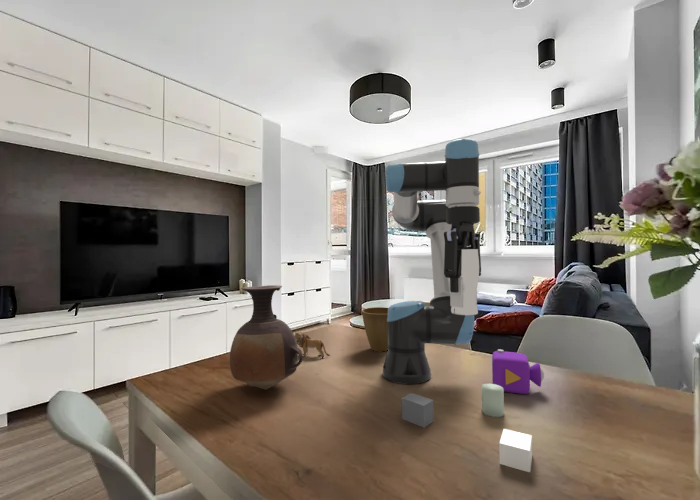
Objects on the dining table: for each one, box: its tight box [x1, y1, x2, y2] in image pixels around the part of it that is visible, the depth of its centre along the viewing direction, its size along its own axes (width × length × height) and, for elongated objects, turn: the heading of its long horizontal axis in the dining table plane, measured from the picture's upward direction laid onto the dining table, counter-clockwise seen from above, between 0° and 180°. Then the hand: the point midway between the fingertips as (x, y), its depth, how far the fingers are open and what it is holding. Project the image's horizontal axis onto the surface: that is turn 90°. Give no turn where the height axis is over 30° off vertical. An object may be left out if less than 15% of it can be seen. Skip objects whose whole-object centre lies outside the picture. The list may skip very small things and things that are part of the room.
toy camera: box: [491, 348, 545, 395], centre depth 98 cm, size 11×14×10 cm
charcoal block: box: [401, 392, 435, 428], centre depth 80 cm, size 6×4×5 cm, turn 45°
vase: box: [229, 284, 304, 391], centre depth 100 cm, size 23×19×30 cm
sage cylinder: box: [480, 383, 505, 418], centre depth 83 cm, size 5×5×6 cm
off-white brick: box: [498, 428, 533, 473], centre depth 64 cm, size 6×5×4 cm
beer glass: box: [449, 249, 480, 316], centre depth 80 cm, size 7×7×15 cm
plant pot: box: [361, 306, 389, 352], centre depth 139 cm, size 15×15×16 cm
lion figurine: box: [294, 331, 331, 358], centre depth 132 cm, size 15×5×9 cm, turn 74°
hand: (464, 304), depth 80 cm, fingers closed on beer glass, 6 cm apart
